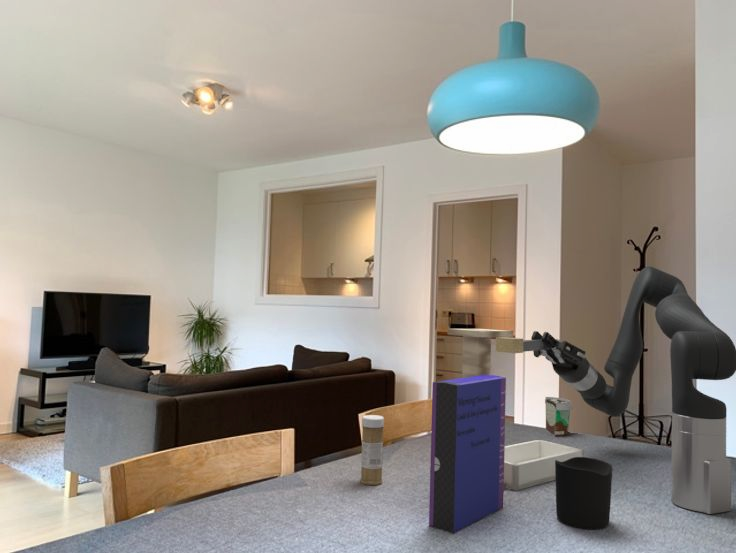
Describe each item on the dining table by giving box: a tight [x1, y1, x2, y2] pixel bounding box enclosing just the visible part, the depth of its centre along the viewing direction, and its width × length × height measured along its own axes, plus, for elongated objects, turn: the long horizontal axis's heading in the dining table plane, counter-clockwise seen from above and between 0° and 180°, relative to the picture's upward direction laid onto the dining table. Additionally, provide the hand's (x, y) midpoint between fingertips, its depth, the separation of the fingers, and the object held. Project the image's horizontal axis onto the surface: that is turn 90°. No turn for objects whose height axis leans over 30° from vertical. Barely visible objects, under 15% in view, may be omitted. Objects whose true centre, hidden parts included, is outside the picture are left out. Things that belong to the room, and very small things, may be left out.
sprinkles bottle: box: [360, 414, 385, 486], centre depth 123 cm, size 5×5×13 cm
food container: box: [544, 396, 573, 438], centre depth 178 cm, size 12×6×10 cm, turn 179°
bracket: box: [447, 328, 514, 491], centre depth 123 cm, size 10×9×32 cm
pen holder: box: [555, 456, 613, 530], centre depth 105 cm, size 9×9×10 cm
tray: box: [504, 439, 585, 492], centre depth 133 cm, size 25×12×5 cm, turn 129°
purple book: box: [428, 374, 507, 535], centre depth 106 cm, size 17×5×24 cm, turn 141°
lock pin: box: [495, 337, 552, 354], centre depth 134 cm, size 18×5×3 cm, turn 129°
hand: (539, 335), depth 137 cm, fingers closed on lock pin, 2 cm apart
